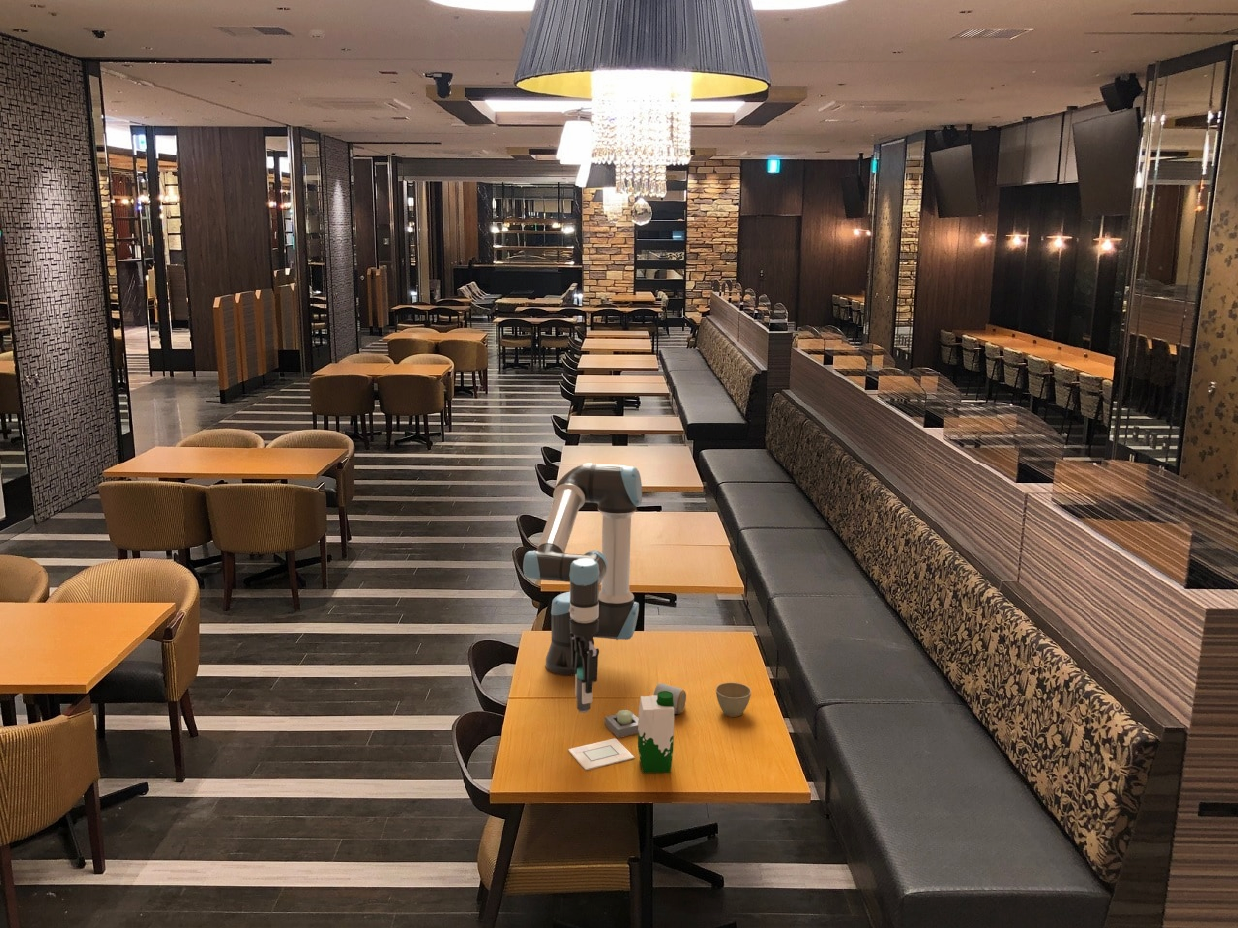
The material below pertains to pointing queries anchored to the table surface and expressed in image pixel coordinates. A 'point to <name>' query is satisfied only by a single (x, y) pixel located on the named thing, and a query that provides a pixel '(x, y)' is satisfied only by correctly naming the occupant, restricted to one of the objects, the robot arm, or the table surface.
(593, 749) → the sheet
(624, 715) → the button cap
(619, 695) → the table surface
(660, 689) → the ceramic mug
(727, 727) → the table surface
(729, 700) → the flower pot
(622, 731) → the button housing
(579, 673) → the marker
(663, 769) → the milk carton
